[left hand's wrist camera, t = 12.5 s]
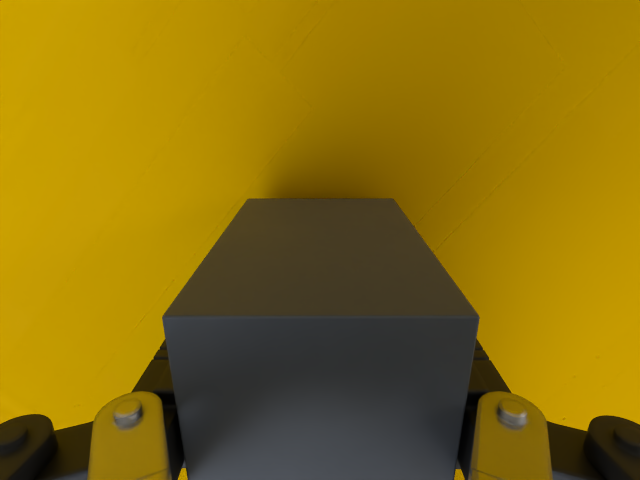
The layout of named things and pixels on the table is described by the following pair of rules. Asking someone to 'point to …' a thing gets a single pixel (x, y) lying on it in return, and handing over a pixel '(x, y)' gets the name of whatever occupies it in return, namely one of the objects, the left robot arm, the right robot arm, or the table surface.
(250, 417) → the long box
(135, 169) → the table surface
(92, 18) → the table surface
